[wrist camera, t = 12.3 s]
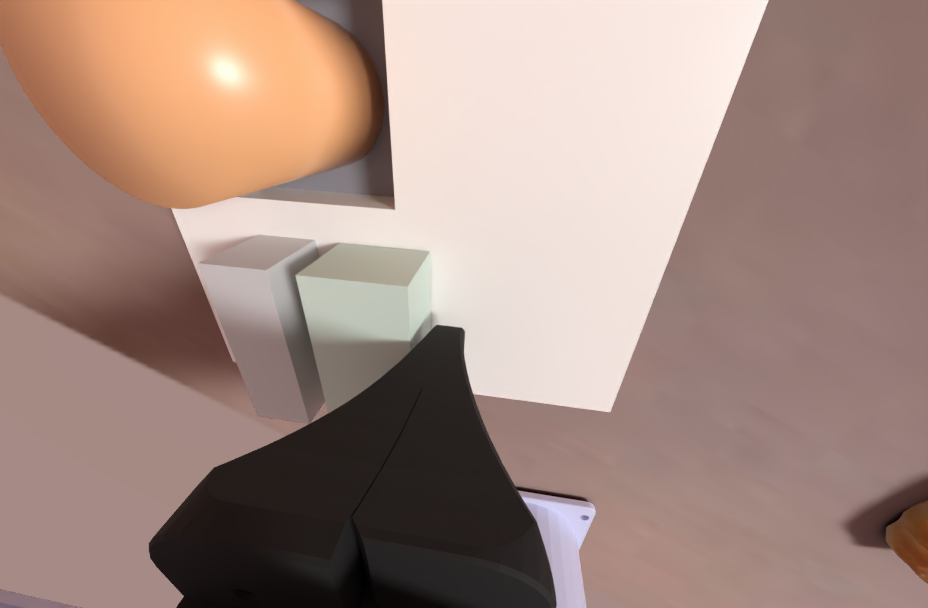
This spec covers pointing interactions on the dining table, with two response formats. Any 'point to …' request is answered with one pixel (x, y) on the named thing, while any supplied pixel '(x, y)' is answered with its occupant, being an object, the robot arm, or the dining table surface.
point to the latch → (364, 314)
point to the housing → (494, 188)
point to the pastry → (911, 538)
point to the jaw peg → (195, 91)
